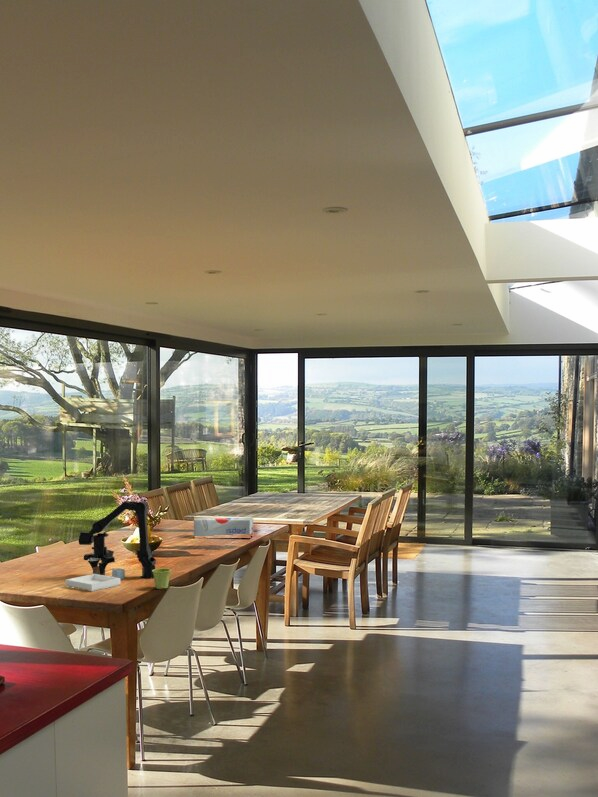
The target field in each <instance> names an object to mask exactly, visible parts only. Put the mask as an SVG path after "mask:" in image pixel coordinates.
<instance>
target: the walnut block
mask: <svg viewBox="0 0 598 797" xmlns="http://www.w3.org/2000/svg"><path fill="white" fill-rule="evenodd" d="M92 574H99V575H101V573H100V569H99V565H98V566H97V567H93V569H92ZM103 575H105V576H106V570H105V571H104V574H103Z"/></svg>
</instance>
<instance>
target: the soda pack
mask: <svg viewBox="0 0 598 797" xmlns="http://www.w3.org/2000/svg"><path fill="white" fill-rule="evenodd" d="M252 532H253V533H254V517H198V518H195V519H193V537H194V536H214V535H233V534H251V533H252Z"/></svg>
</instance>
